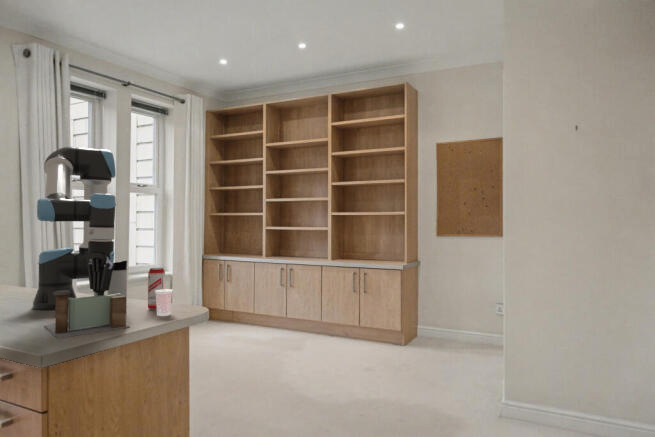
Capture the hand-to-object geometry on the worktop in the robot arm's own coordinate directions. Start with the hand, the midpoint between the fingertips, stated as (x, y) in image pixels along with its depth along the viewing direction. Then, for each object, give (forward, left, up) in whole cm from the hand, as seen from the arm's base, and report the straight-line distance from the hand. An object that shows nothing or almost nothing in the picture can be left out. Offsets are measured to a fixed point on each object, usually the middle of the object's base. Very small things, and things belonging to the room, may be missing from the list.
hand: (98, 311), depth 142 cm
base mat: (0, -3, -5) cm, 6 cm away
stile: (+8, +4, -5) cm, 10 cm away
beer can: (-14, +25, -5) cm, 29 cm away
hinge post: (+4, -11, -5) cm, 13 cm away
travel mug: (-12, +10, -5) cm, 16 cm away
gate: (+4, -2, -4) cm, 6 cm away
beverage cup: (-2, +23, -5) cm, 23 cm away
